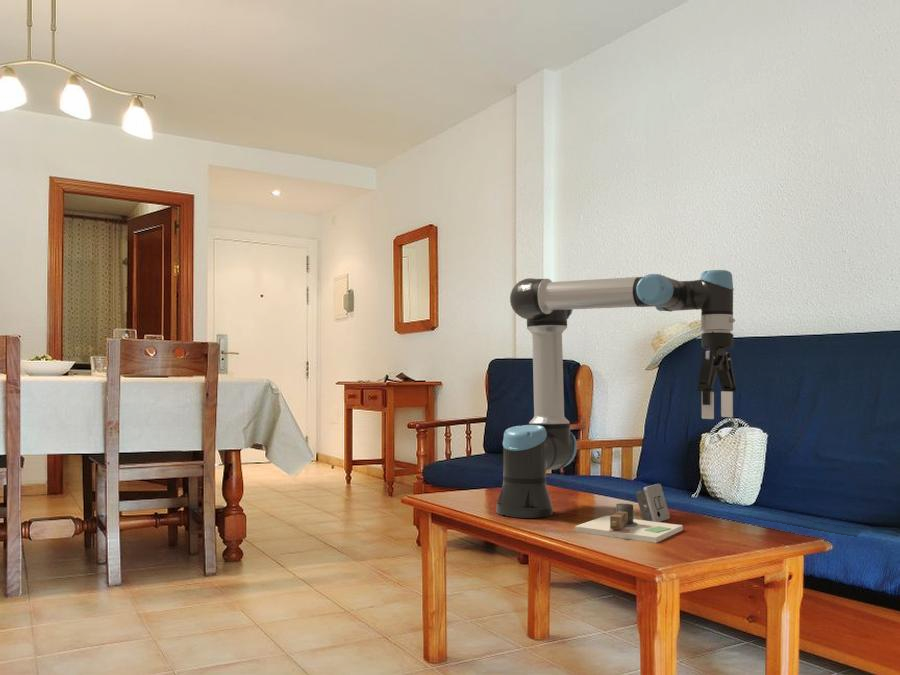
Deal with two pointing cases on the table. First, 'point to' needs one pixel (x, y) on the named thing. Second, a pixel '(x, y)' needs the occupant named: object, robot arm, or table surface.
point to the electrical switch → (653, 503)
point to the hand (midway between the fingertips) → (717, 418)
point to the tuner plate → (631, 529)
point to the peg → (622, 516)
